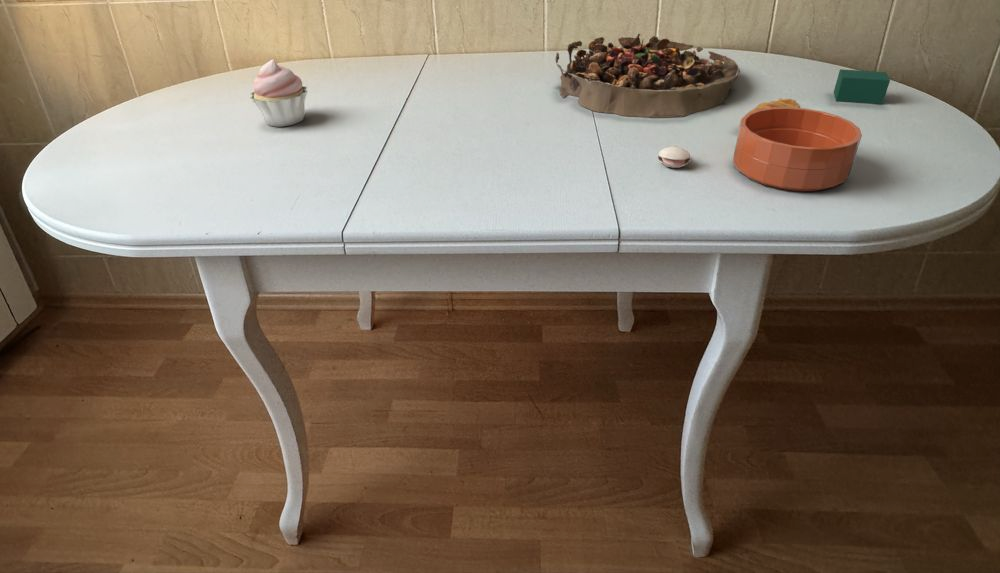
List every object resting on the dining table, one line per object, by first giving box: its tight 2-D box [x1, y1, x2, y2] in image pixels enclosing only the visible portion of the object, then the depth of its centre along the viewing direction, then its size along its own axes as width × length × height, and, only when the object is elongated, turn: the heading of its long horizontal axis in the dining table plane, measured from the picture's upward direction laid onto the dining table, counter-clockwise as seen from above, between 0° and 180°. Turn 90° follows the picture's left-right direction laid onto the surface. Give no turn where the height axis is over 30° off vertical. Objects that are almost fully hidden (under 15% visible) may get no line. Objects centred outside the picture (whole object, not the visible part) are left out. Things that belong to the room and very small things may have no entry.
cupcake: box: [249, 59, 308, 128], centre depth 102 cm, size 9×9×10 cm
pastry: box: [747, 98, 801, 113], centre depth 95 cm, size 9×7×4 cm
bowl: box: [733, 107, 863, 192], centre depth 82 cm, size 14×14×6 cm
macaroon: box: [657, 146, 691, 169], centre depth 86 cm, size 4×5×2 cm
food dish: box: [555, 33, 741, 119], centre depth 113 cm, size 35×33×8 cm
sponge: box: [833, 68, 891, 105], centre depth 104 cm, size 7×4×4 cm, turn 72°
